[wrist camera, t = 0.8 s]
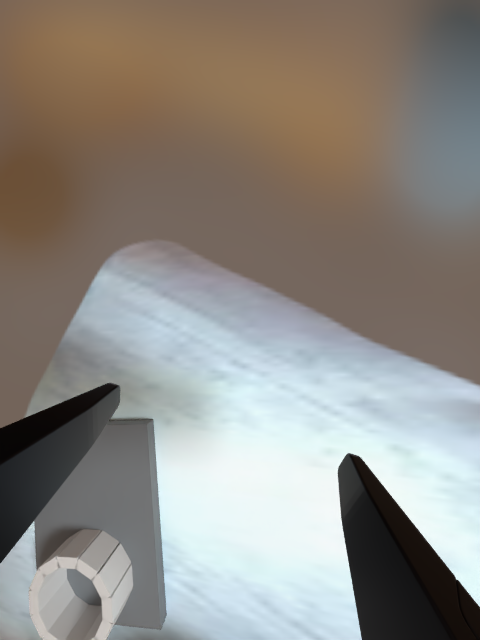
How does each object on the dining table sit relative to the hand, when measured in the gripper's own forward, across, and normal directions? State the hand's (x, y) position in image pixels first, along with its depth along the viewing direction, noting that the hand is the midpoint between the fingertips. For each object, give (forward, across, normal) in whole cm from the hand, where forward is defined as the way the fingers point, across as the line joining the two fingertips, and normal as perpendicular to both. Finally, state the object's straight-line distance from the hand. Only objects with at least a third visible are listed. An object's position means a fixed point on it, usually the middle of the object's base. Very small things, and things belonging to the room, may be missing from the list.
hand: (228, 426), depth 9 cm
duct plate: (+7, +11, +25) cm, 28 cm away
